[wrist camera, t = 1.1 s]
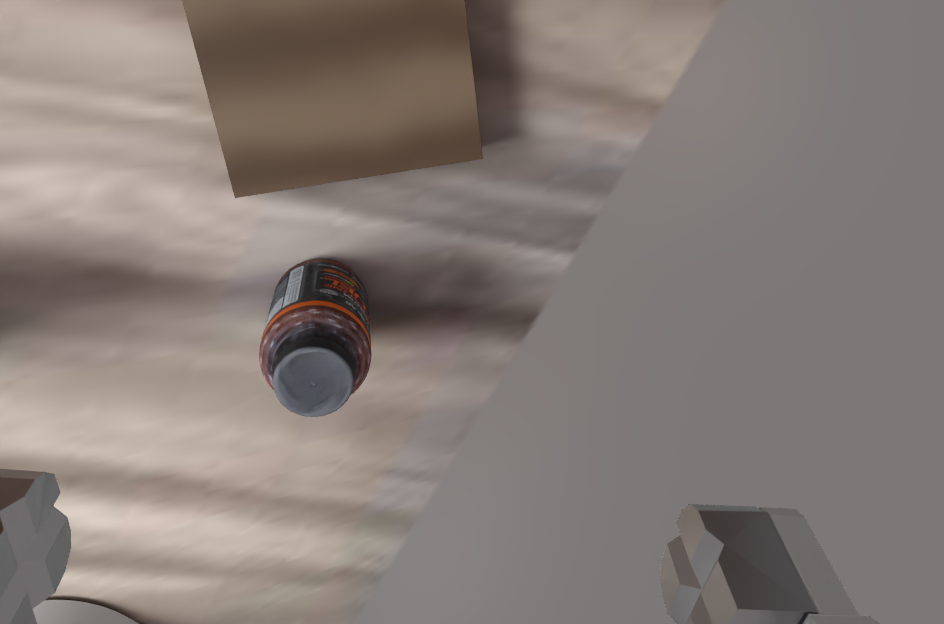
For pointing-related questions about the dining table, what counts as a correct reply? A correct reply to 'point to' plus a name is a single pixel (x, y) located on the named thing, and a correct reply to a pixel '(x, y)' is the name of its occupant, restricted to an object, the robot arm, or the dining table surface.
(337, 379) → the supplement bottle
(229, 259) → the dining table surface
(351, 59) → the beige flat square block
